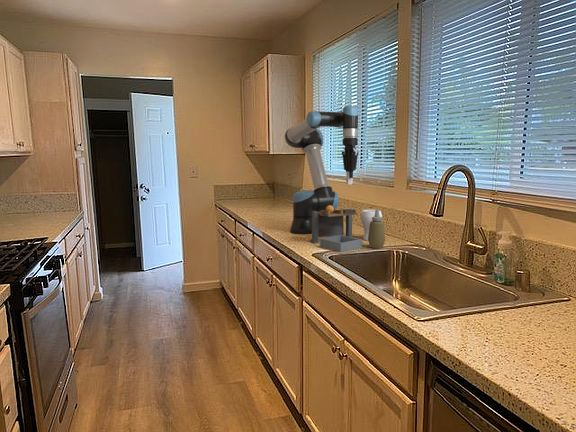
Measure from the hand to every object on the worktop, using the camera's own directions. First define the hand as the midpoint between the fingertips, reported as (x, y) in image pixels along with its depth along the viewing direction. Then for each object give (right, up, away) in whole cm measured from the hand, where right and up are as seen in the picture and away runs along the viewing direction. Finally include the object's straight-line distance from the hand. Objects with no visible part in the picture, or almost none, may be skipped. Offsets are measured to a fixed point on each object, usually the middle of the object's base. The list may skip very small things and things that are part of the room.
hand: (349, 184), depth 215 cm
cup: (+11, -29, +1) cm, 31 cm away
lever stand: (-9, -29, 0) cm, 30 cm away
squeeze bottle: (+10, -31, -17) cm, 37 cm away
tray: (-7, -31, -17) cm, 36 cm away
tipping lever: (-8, -27, -3) cm, 28 cm away
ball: (-11, -13, -9) cm, 19 cm away
